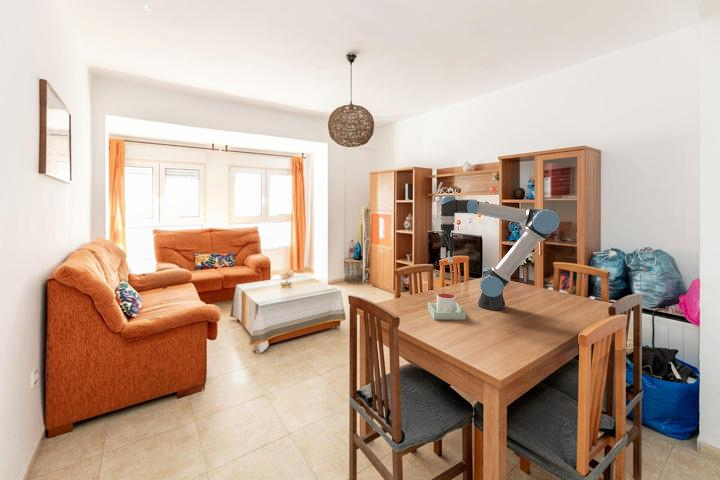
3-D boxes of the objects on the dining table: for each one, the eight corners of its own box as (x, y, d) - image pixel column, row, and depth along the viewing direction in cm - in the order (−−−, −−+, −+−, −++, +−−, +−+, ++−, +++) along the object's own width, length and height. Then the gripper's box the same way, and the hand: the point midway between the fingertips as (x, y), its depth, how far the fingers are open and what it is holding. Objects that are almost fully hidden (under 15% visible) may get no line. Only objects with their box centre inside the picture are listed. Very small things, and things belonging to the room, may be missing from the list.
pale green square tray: (456, 309, 187) (456, 302, 186) (465, 320, 171) (465, 311, 170) (427, 309, 187) (427, 302, 186) (433, 319, 171) (434, 311, 170)
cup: (456, 317, 173) (456, 299, 172) (436, 316, 175) (437, 297, 174) (454, 311, 183) (455, 293, 181) (436, 310, 184) (436, 292, 183)
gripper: (435, 222, 198) (434, 256, 200) (447, 224, 173) (447, 264, 176) (447, 222, 199) (446, 256, 201) (461, 224, 174) (460, 264, 176)
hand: (446, 260), depth 188 cm, fingers open, 13 cm apart
